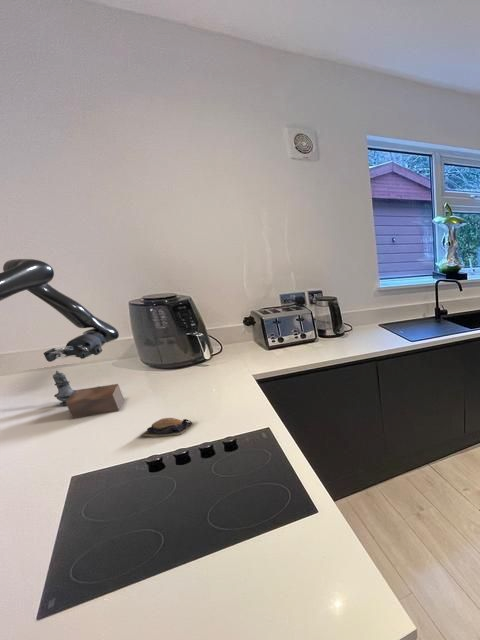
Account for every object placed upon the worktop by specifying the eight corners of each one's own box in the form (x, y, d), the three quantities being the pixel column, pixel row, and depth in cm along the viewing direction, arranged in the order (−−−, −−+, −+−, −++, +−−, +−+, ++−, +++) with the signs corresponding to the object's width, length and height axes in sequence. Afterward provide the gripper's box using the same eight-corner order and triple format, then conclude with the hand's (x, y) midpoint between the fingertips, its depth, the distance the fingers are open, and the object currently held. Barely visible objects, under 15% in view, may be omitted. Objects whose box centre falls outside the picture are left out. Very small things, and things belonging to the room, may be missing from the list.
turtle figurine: (140, 438, 118) (135, 427, 116) (158, 425, 125) (154, 414, 124) (180, 436, 119) (176, 425, 118) (195, 422, 127) (192, 412, 126)
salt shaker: (58, 408, 134) (43, 375, 130) (58, 402, 138) (43, 370, 133) (83, 403, 138) (69, 370, 134) (82, 398, 142) (68, 366, 137)
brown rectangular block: (72, 418, 128) (65, 401, 125) (80, 406, 136) (74, 390, 134) (119, 410, 134) (112, 394, 131) (124, 399, 142) (118, 383, 140)
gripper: (55, 338, 152) (32, 350, 138) (105, 334, 158) (87, 345, 144) (63, 356, 155) (42, 370, 141) (111, 352, 161) (95, 364, 147)
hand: (65, 357), depth 143 cm, fingers open, 8 cm apart
